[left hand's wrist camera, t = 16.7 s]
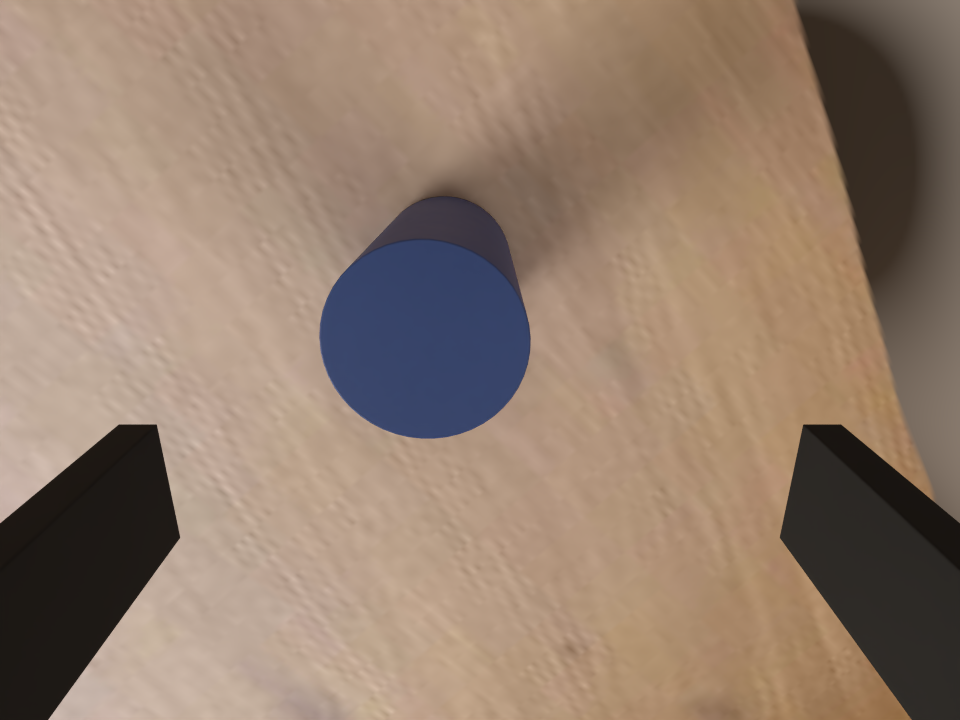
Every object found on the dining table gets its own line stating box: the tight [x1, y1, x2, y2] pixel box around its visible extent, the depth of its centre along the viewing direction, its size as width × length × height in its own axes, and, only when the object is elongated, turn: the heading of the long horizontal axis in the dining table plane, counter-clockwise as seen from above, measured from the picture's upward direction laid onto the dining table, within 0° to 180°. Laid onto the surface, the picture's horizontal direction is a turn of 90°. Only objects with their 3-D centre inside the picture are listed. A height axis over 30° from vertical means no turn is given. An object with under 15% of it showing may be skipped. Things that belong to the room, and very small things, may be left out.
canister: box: [319, 197, 530, 438], centre depth 22 cm, size 6×6×11 cm
